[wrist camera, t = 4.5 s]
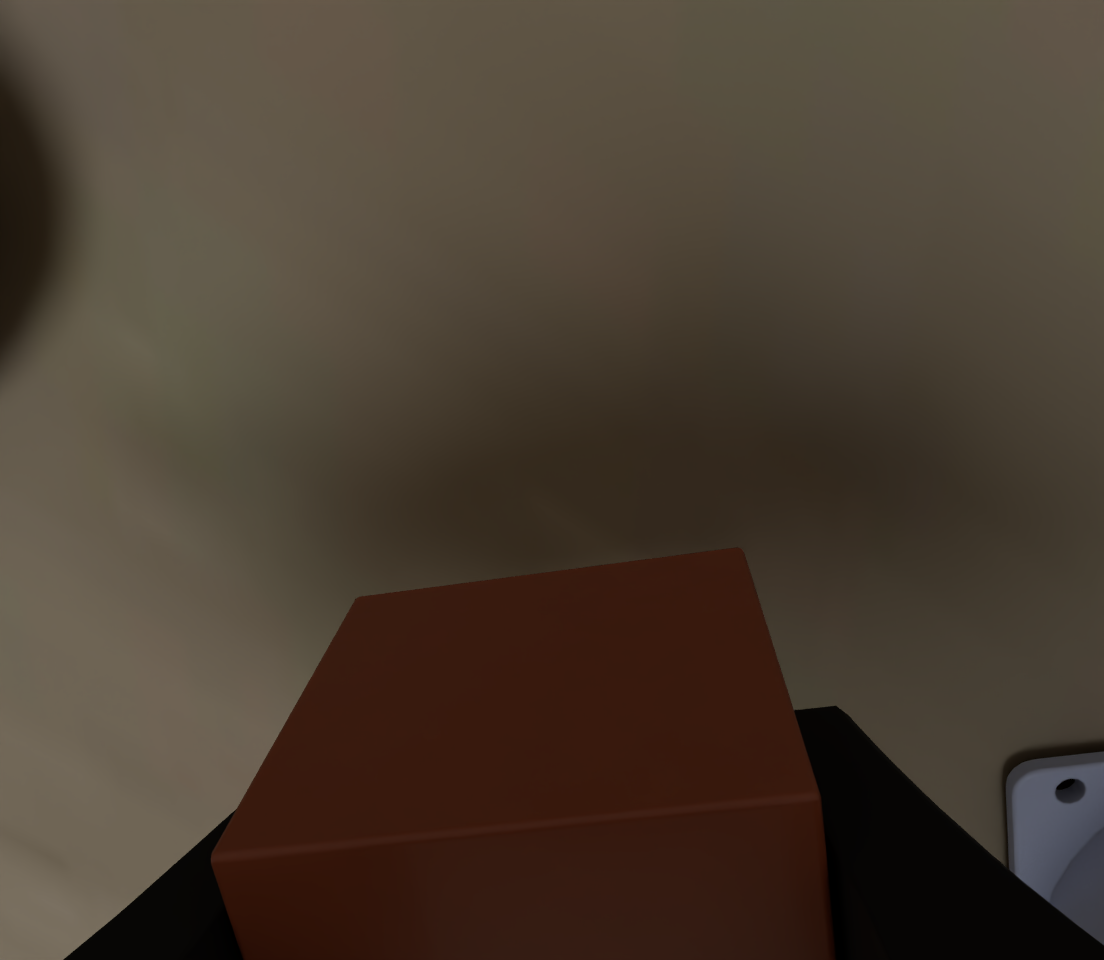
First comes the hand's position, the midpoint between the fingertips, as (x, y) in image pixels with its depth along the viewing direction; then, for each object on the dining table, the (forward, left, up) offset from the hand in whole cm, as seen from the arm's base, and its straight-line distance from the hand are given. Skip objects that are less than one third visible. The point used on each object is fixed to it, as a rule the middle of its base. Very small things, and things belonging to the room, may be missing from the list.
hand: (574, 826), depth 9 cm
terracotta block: (0, 0, -1) cm, 1 cm away
